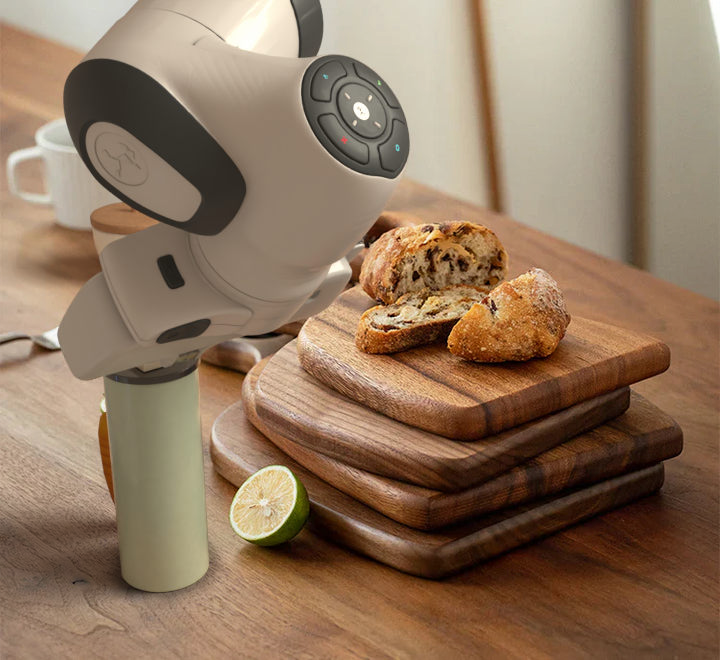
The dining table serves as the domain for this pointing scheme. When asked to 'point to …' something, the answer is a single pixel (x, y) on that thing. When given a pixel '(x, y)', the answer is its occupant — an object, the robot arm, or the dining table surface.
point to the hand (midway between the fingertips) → (176, 354)
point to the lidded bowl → (116, 223)
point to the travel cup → (158, 475)
